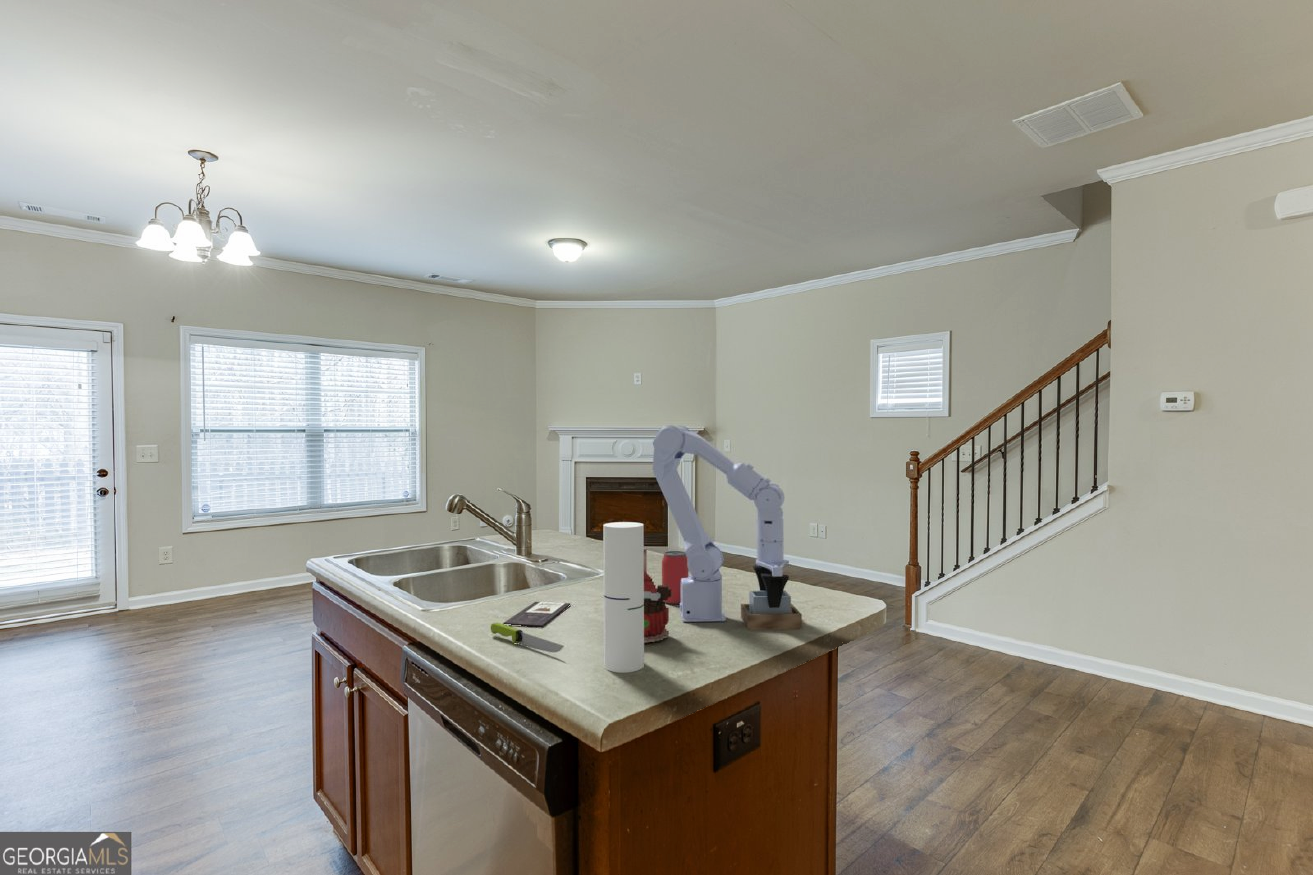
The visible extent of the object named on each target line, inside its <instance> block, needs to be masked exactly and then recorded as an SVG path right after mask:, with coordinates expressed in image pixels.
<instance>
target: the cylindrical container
mask: <svg viewBox="0 0 1313 875" xmlns="http://www.w3.org/2000/svg"><path fill="white" fill-rule="evenodd" d="M602 526H603V527H602V528H603V536H602V537H603V542H602V543H603V547H602V548H603V554H602V555H603V667H604V669H606V670H607V671H609V672H612V673H620V674H621V673H624V674H625V673H632V672H637V671H640V670H642V669H643V668H644V667H645V643H644V549H645V548H644V547H645V544H644V529H645V528H644V526H645V525H644V523H641V522H633V521H632V522H631V521H618V522H616V521H615V522H608V523H603V525H602Z"/></svg>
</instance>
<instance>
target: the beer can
mask: <svg viewBox="0 0 1313 875" xmlns="http://www.w3.org/2000/svg"><path fill="white" fill-rule="evenodd" d="M687 561H688V560H687V556H686V553H685V551H681V550H668V551H665V552H663V556H662V558H661V585H668V589H671V597H668V600H663V601H665V604H668V605H680V603H681V578H689V577H690V572H689V570H688V566H687Z"/></svg>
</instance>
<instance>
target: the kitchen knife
mask: <svg viewBox="0 0 1313 875" xmlns="http://www.w3.org/2000/svg"><path fill="white" fill-rule="evenodd" d="M490 632H491V634H492V635H496V634H498V635H500V636H503V637H505V638H506V637H511V643H512V644H513V643H519V644H522V645H524V646H523V647H526V646H528V647H527V648H531V649H535V650H540V651H545V652H549V653H557V652H558V653H559V652H560V651H561V650H563V649H564V647H565V646H564V645H562V644H559V643H556V642H553V641H550V640H547V639H544V638H542V637H538V636H535V635H532V634H529V633H525V632H524V631H523V630H522V629H518V628H516V627H514V626H507V625H504V624H503V623H500V622H494V623H492V624H490ZM519 644H518V645H519ZM522 645H521V646H522Z"/></svg>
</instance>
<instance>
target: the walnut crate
mask: <svg viewBox="0 0 1313 875" xmlns="http://www.w3.org/2000/svg"><path fill="white" fill-rule="evenodd" d="M802 616H803V615H802V613H801V612H800V611H799V610H798V609H797V607H795V605H793V604H792V603H791V614H750V613H749V603H740V618H741V620H742V622H743V624H744V625H745V627H746V629H747V631H748V630H749V631H751V630H753V631H754V630H755V631H756V630H761V629H762V630H802V629H803V628H802V626H803V624H802V622H803V621H802V618H803V617H802Z"/></svg>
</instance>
